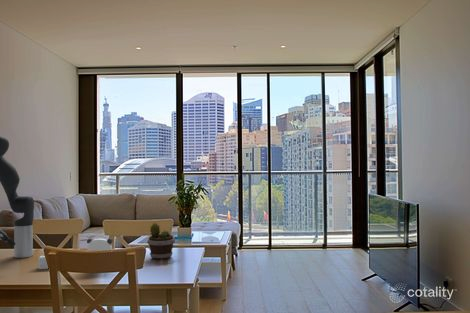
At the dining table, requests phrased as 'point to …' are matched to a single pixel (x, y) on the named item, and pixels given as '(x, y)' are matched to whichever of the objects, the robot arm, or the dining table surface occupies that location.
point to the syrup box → (42, 263)
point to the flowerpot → (160, 243)
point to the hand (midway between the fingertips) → (13, 245)
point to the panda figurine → (99, 244)
